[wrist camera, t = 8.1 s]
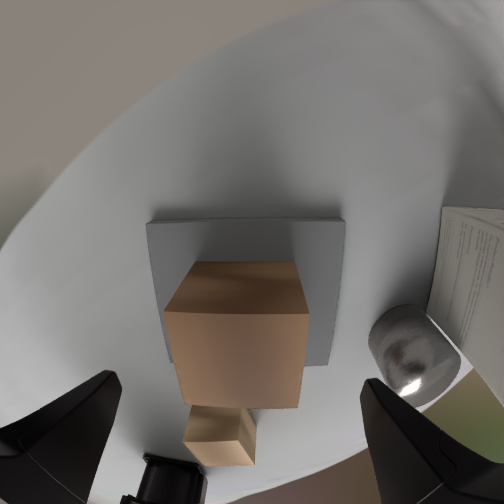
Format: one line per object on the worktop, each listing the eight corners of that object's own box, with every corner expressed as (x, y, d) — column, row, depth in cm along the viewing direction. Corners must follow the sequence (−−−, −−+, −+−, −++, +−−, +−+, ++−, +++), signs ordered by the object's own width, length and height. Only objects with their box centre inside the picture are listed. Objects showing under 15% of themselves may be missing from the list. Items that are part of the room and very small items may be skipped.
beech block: (211, 429, 20) (204, 466, 16) (193, 402, 19) (182, 441, 15) (256, 425, 19) (254, 464, 16) (242, 397, 18) (237, 440, 14)
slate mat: (173, 355, 17) (170, 362, 16) (151, 220, 14) (145, 224, 13) (325, 357, 16) (327, 365, 16) (341, 218, 14) (345, 221, 13)
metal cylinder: (362, 361, 17) (383, 414, 12) (375, 306, 15) (408, 357, 10) (415, 353, 16) (443, 399, 12) (431, 301, 15) (471, 343, 10)
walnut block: (204, 341, 15) (184, 403, 11) (195, 261, 14) (163, 311, 9) (290, 342, 15) (297, 407, 10) (294, 261, 14) (309, 313, 9)
